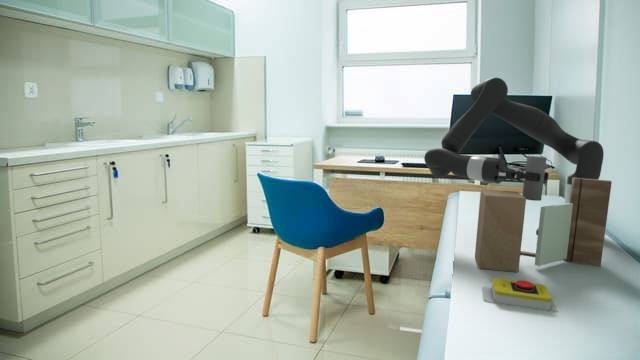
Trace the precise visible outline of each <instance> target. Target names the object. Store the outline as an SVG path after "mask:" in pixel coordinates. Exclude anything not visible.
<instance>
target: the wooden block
mask: <svg viewBox="0 0 640 360" xmlns="http://www.w3.org/2000/svg"><path fill="white" fill-rule="evenodd" d="M526 202H527V199H526V198H525V197H524V196H522V194H521V193H520V192H518V191H511V190H509V191H508V190H497V189H496V190H495V189H481V190H480V196H479V205H478V218H477V227H476V228H477V229H476V239H475V240H476V241H475V251H474V258H475V262H476V264H477V267H478V268H479V269H481V270H492V271H499V272H500V271H501V272H512V273H519V271H520V270H519V269H520V262H521V261H520V259H521V254H520V253H521V251H522V250H521V249H522V241H523V232H524V223H525V213H526V211H525V210H526V204H527V203H526Z"/></svg>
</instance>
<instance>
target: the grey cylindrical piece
mask: <svg viewBox="0 0 640 360" xmlns="http://www.w3.org/2000/svg"><path fill="white" fill-rule="evenodd" d="M547 158H548V157H546V156H538V155H527V156H526V163H525V168H526V169H525V171H526V172H531V173H539V174H541V181H539V182H537V181H530V180H524V181H523V186H522V194H521V195H522V196H524V197H525V198H526V201H527V200H528V201H539V202H540V201H542V196H543V187H544V181H545V180H544V174H545V172H546V164H547Z"/></svg>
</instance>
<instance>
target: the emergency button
mask: <svg viewBox="0 0 640 360" xmlns="http://www.w3.org/2000/svg"><path fill="white" fill-rule="evenodd" d="M481 290H482V301H484V302H486V303H489V304H490V303H491V304H497V305H504V306H509V307H515V308H516V307H517V308H524V309H531V310H538V311H545V312H551V313H558V311H559V310H558V308H557V305H556V303H555V301H554V299H553V298H552V296H551V295H550V293H549V290H548V289H547V286H546V285H545V284H541V283H533V282H530V281H528V280H520V279H519V280H512V279H504V278H503V279H502V278H497V277H495V278H493V280H492V285H491V287H488V286H483V287H482V288H481Z"/></svg>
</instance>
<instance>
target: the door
mask: <svg viewBox="0 0 640 360" xmlns="http://www.w3.org/2000/svg"><path fill="white" fill-rule="evenodd" d="M572 209H573V203H565V202H564V203H559V204H552V205H551V204H550V205H546V206H545V205H544V206H540V211H539V212H540V213H539V221H538V228H537V229H536V231H535V232H536V233H535V234H536V235H537V237H536V248H535V249H536V250H535V253H536V256H534V266H537V267H541V266H545V265H548V264H553V263H555V262H559V261H563V260H564V259H567V250H568V242H569V234H570V226H571V217H572Z"/></svg>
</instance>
